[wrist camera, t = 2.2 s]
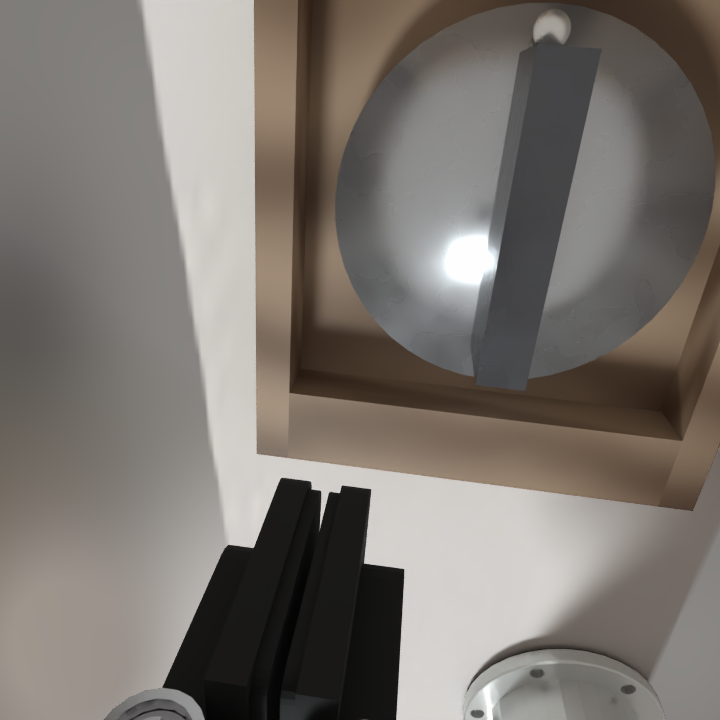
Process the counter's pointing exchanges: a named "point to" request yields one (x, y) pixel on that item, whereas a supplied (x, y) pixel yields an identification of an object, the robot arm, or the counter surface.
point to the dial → (525, 192)
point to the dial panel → (408, 371)
